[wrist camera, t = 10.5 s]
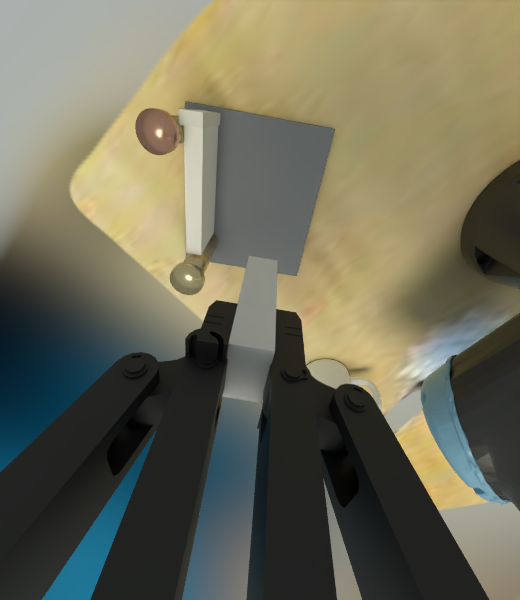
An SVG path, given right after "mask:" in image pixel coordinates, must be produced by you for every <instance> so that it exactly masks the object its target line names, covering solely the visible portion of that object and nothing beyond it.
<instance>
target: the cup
mask: <svg viewBox="0 0 520 600" xmlns="http://www.w3.org/2000/svg"><path fill="white" fill-rule="evenodd" d="M306 367H307V368H308V369H309V370H310V373H311V375H312V376H313V377H314V378H315V379H317V380H318V381H320V382H322V383H323V384H326V385H328V386H330V387H333V388H335V389H337V388H338V387H339V386H340V385H343V384H354V385H365V386H367V387H368V388H369V389H370V390H371V392H372V395H373V399H374V400H375V402H376V404H377V405H378V407H379V409H380V410H381V397H380V394H379V391H378V389H377V387H376V386H375V384H374V383H373V382H371V381H370V380H368V379H366V378H363V377H349V373H348V371H347V369H346V368H345V366H344V365H342V364H341V363H340V362H338V361H335V360H331V359H320V360H316V361H313V362H311V363H309V364H308V365H307V366H306Z"/></svg>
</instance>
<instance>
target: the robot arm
mask: <svg viewBox="0 0 520 600" xmlns="http://www.w3.org/2000/svg"><path fill="white" fill-rule="evenodd" d="M461 247H462V252H463V255H464V257H465V259H466V261H467V262H468V263H469V264H470V265H471V266H472V267H473V268H474V269H475V270H477V271H478V272H479V273H480V274H482V275H483V276H484V277H486V278H488V279H490V280H492V281H494V282H497V283H500V284H504V285H507V286H511V287H515V288H518V289H520V161H519V162H518V163H516V164H515V165H513V166H512V167H510V168H509V169H507V170H506V171H505V172H503V173H502V174H501V175H500V176H498V177H497V178H496V179H495V180H494V181H493V182H492V183H491V184H490V185H489V186H488V187H487V188H486V189H485V190H484V191H483V192H482V194H481V195H480V196H479V197H478V199H477V200H476V202H475V203H474V205H473V206H472V208H471V210H470V211H469V213H468V215H467V218H466V220H465V223H464V226H463V229H462V235H461ZM276 296H277V260H272V259H266V258H260V257H254V256H249V257H248V262H247V266H246V270H245V275H244V279H243V283H242V288H241V292H240V296H239V301H238V304H236V303H230V302H224V301H218V300H216V301H215V302H214V303H213V304H212V305H210V306H209V308H208V311H207V314H206V316H205V319H204V323H203V324H202V327H201V329H197V330H195V331H193V332H191V333H190V334H189V335H188V336H187V338H186V339H185V340H186V342H185V345H186V356H185V357H183V358H180V359H178V360H172V361H164V362H158V361H157V360H156V358H155V357H154V356H152V355H150V354H147V353H142V352H140V353H132V354H129V355H126V356H124V357H122V358H121V359H119V360H118V361H117V362H115V364H113V365H112V366H111V367H110V368H109V369H108V370H107V371H106V372H105V373H104V374H103V375H102V376H101V377H100V378H99V379H98V380H97V381H96V382H95V383H94V384H93V385H92V386H90V387H89V388H88V389H87V390H86V391H85V392H84V393H83V394H82V395H81V396H80V397H79V398H78V399H77V400H76V401H75V402H74V403H73V404H72V405H70V406H69V407H68V408H67V409H66V410H65V411H64V412H63V413H62V414H61V415H60V416H59V417H58V418H57V419H56V420H55V421H54V422H53V423H52V424H51V425H50V426H49V427H47V428H46V429H45V430H44V431H43V432H42V433H41V434H40V435H39V436H38V437H37V438H36V439H35V440H34V441H33V442H32V443H31V444H30V445H29V446H28V447H27V448H25V449H24V451H22V452H21V453H20V454H19V455H18V456H17V457H16V458H15V459H14V460H13V461H12V462H11V463H10V464H9V465H8V466H7V467H6V468H4V470H2V471H1V472H0V600H42V598H43V597H44V595H45V594H46V592H47V591H48V590H49V588H50V587H51V585H52V584H53V582H54V581H55V579H56V578H57V576H58V575H59V573H60V572H61V570H62V569H63V567H64V566H65V564H66V563H67V561H68V560H69V558H70V557H71V555H72V554H73V553H74V551H75V550H76V548H77V547H78V545H79V544H80V542H81V541H82V539H83V538H84V536H85V535H86V533H87V532H88V530H89V529H90V527H91V526H92V524H93V523H94V521H95V520H96V518H97V517H98V515H99V514H100V512H101V511H102V510H103V508H104V507H105V505H106V503H107V502H108V501H109V499H110V498H111V496H112V495H113V493H114V492H115V490H116V489H117V487H118V486H119V484H120V483H121V481H122V480H123V479H124V477H125V475H126V474H127V473H128V471H129V469H130V468H131V467H132V465H133V464H134V462H135V461H136V459H137V458H138V456H139V455H140V453H141V452H142V450H143V449H144V447H145V446H146V444H147V443H148V441H149V440H150V439H151V437H152V436H153V434H154V432H155V431H156V430H157V431H156V434H155V437H154V439H153V442H152V444H151V447H150V449H149V452H148V454H147V457H146V459H145V462H144V465H143V467H142V470H141V472H140V475H139V478H138V480H137V482H136V485H135V488H134V490H133V493H132V495H131V498H130V500H129V503H128V505H127V508H126V511H125V513H124V516H123V518H122V521H121V523H120V526H119V528H118V531H117V534H116V536H115V538H114V541H113V544H112V547H111V549H110V552H109V554H108V556H107V559H106V562H105V564H104V567H103V569H102V572H101V574H100V577H99V579H98V582H97V584H96V587H95V590H94V592H93V595H92V597H91V600H182V595H183V591H184V586H185V581H186V576H187V571H188V566H189V562H190V557H191V552H192V547H193V542H194V537H195V532H196V527H197V522H198V518H199V512H200V508H201V503H202V498H203V493H204V488H205V483H206V478H207V473H208V469H209V463H210V458H211V454H212V449H213V444H214V439H215V433H216V429H217V424H218V419H219V415H220V409H221V401H222V397H228V398H235V399H242V400H249V401H255V402H262V400H263V407H262V412H261V415H260V419H259V423H258V426H257V428H258V429H259V440H258V452H257V465H256V479H255V492H254V506H253V520H252V533H251V547H250V561H249V574H248V587H247V600H337V596H336V587H335V578H334V569H333V560H332V552H331V543H330V534H329V525H328V516H327V507H326V498H325V489H324V482H323V478H324V481H325V485H326V488H327V491H328V494H329V497H330V500H331V503H332V506H333V509H334V513H335V516H336V519H337V522H338V525H339V528H340V531H341V534H342V537H343V541H344V544H345V546H346V550H347V553H348V556H349V559H350V562H351V565H352V569H353V572H354V575H355V578H356V581H357V584H358V587H359V590H360V594H361V597H362V600H489V598H488V597H487V595H486V593H485V591H484V590H483V588H482V586H481V584H480V583H479V581H478V579H477V577H476V576H475V574H474V572H473V571H472V569H471V567H470V565H469V564H468V562H467V560H466V558H465V557H464V555H463V553H462V551H461V550H460V548H459V546H458V544H457V543H456V541H455V539H454V538H453V536H452V534H451V532H450V530H449V529H448V527H447V525H446V524H445V522H444V520H443V518H442V517H441V515H440V513H439V511H438V510H437V508H436V506H435V504H434V503H433V501H432V499H431V497H430V496H429V494H428V492H427V490H426V489H425V487H424V485H423V484H422V482H421V480H420V478H419V477H418V475H417V473H416V471H415V470H414V468H413V466H412V464H411V463H410V461H409V459H408V457H407V456H406V454H405V452H404V451H403V449H402V447H401V445H400V444H399V442H398V440H397V438H396V437H395V435H394V433H393V431H392V430H391V428H390V426H389V425H388V423H387V421H386V419H385V418H384V416H383V414H382V412H381V411H380V409H379V407H378V405H377V404H376V402H375V400H374V399H373V398H372V396H371V395H370V394H369V393H368V392H367V391H366V390H364V389H363V388H361V387H359V386H357V385H354V384H343V385H340V386H339V387H338V388H337V389H335V388H333V387H330V386H328V385H326V384H323V383H322V382H320V381H318V380H317V379H315V378H314V377H313V376H312V375H311V373H310V370H309V369H308V368H307V367H306V364H305V354H304V344H303V333H302V323H301V319H300V318H299V316H298V315H297V313H296V312H290V311H284V310H278V309H276ZM421 401H422V405H423V412H424V416H425V419H426V421H427V424H428V427H429V429H430V431H431V433H432V435H433V437H434V439H435V441H436V443H437V445H438V447H439V448H440V450H441V452H442V453H443V455H444V456H445V458H446V459H447V461H448V462H449V464H450V465H451V467H452V468H453V469H454V471H455V472H456V473H457V474H458V476H459V477H460V478H461V479H462V480H463V481H464V482H465V483H466V484H467V485H468V486H469V487H472V488H473V489H474V491H475V493H476V494H478V495H479V496H480V497H482V498H483V499H485V500H487V501H489V502H493V503H500V504H507V503H509V502H512V503H513V504H514V505H515V506H516V507H517V508H518V509H519V511H520V313H519V314H518V315H516V316H515V317H513V318H512V319H510V320H509V321H507V322H506V323H504V324H503V325H501V326H500V327H498V328H497V329H495V330H494V331H493V332H491V333H490V334H488V335H487V336H485V337H484V338H482V339H481V340H479V341H478V342H476V343H475V344H473V345H472V346H470V347H469V348H467V349H466V350H464V351H463V352H461V353H460V354H458V355H454V356H451V357H449V358H448V359H447V361H446V363H445V364H444V365H442V366H441V367H440V368H438V369H437V370H436V371H434V372H433V373H432V374H430V375H429V376H428V377H427V378H426V379H425V381H424V382H423V385H422V389H421ZM157 428H158V429H157Z"/></svg>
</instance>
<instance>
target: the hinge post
mask: <svg viewBox="0 0 520 600" xmlns="http://www.w3.org/2000/svg"><path fill="white" fill-rule="evenodd" d="M218 243H219V240H218V237H217V236H216V235H215V234H214V233H213V235H212V237H211V238H210V240H209V242H208V244H207V246H206V247H205V249H204V251H203V253H202V254H201V255H197V254H190V253H189V254H188V256H187V257H186V259H185V260H184V262H183V263H180V264H178V265H176V266H175V267H174V269H173V270H172V272H171V274H170V282H171V284H172V286H173V287H174V288H175V289H176V290H177V291H178V292H180V293H182V294H186V295H193V294H196V293H198V292H199V291H200V290H201V289H202V287H203V284H204V282H205V276H204V273H205V271H206V269H207V267H208V264H209V262H210V260H211V258H212V256H213V254H214V252H215V250H216V248H217V246H218Z"/></svg>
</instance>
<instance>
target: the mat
mask: <svg viewBox="0 0 520 600" xmlns="http://www.w3.org/2000/svg"><path fill="white" fill-rule="evenodd" d="M185 109H193V110H205V111H211V112H217V113H220V125H219V126H218V148H217V172H216V196H215V220H214V234H215V235H216V236H217V237H218V240H219V243H218V246H217V248H216V250H215V252H214V254H213V256H212V258H211V260H210V262H214V263H220V264H226V265H232V266H238V267H244V268H246V266H247V262H248V257H249V256H254V257H260V258H266V259H272V260H277V273H281V274H287V275H293V276H297V273H298V269H299V265H300V261H301V257H302V253H303V250H304V246H305V242H306V238H307V234H308V231H309V227H310V223H311V219H312V215H313V212H314V208H315V204H316V200H317V196H318V192H319V189H320V185H321V181H322V177H323V173H324V170H325V166H326V162H327V158H328V154H329V151H330V147H331V143H332V139H333V135H334V131H335V129H332V128H326V127H321V126H316V125H310V124H305V123H299V122H294V121H288V120H283V119H278V118H272V117H267V116H261V115H256V114H250V113H245V112H240V111H234V110H229V109H223V108H218V107H212V106H207V105H202V104H196V103H191V102H185ZM188 254H189V253H186V257H187V256H188Z"/></svg>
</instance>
